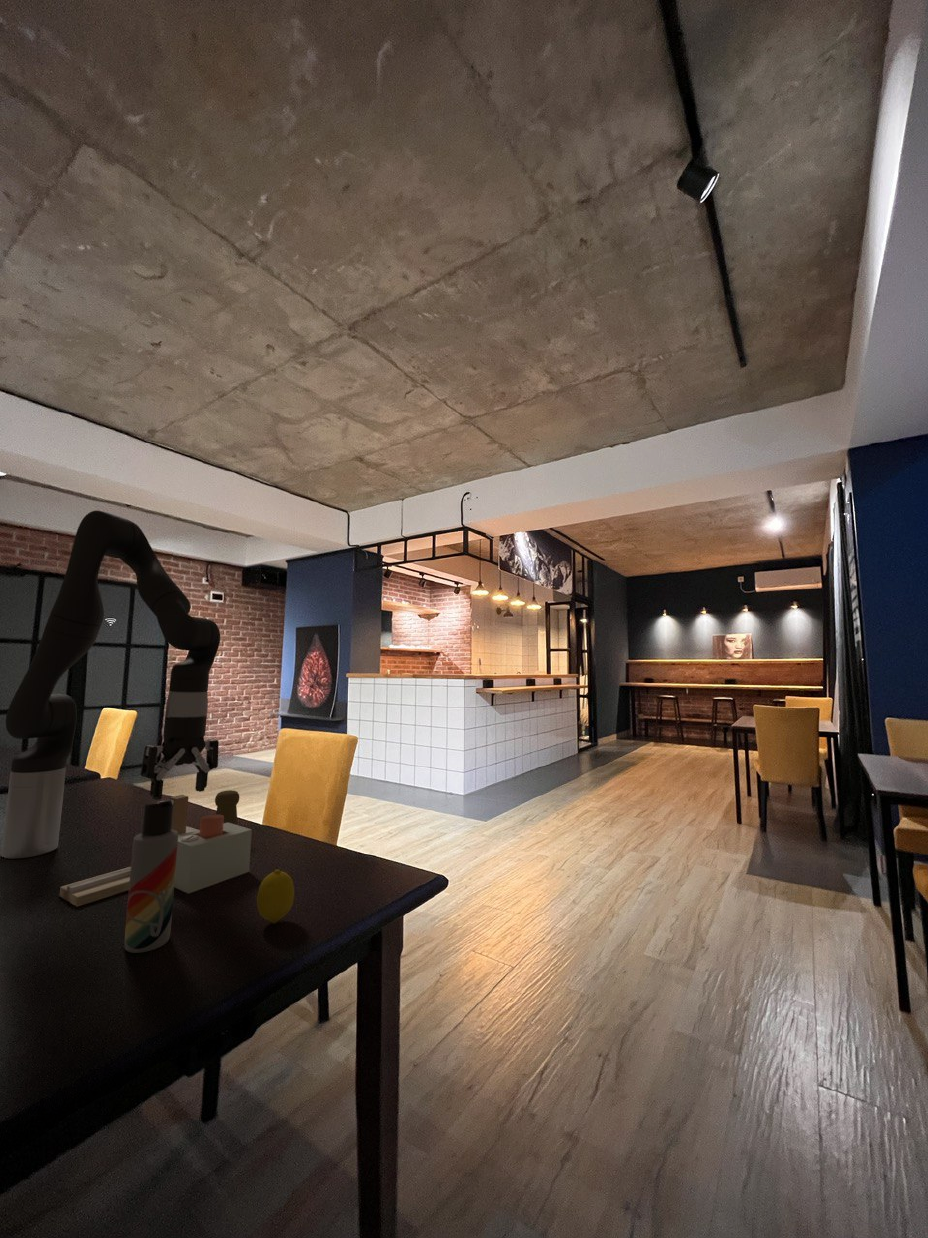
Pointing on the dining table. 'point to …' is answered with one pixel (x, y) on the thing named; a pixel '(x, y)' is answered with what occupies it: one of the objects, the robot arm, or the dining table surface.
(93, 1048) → the dining table surface
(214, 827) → the gauge plunger
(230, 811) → the dark brown knob shape
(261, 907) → the lemon
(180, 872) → the cabinet
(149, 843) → the lotion bottle
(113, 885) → the rail
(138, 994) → the dining table surface
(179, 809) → the carriage
